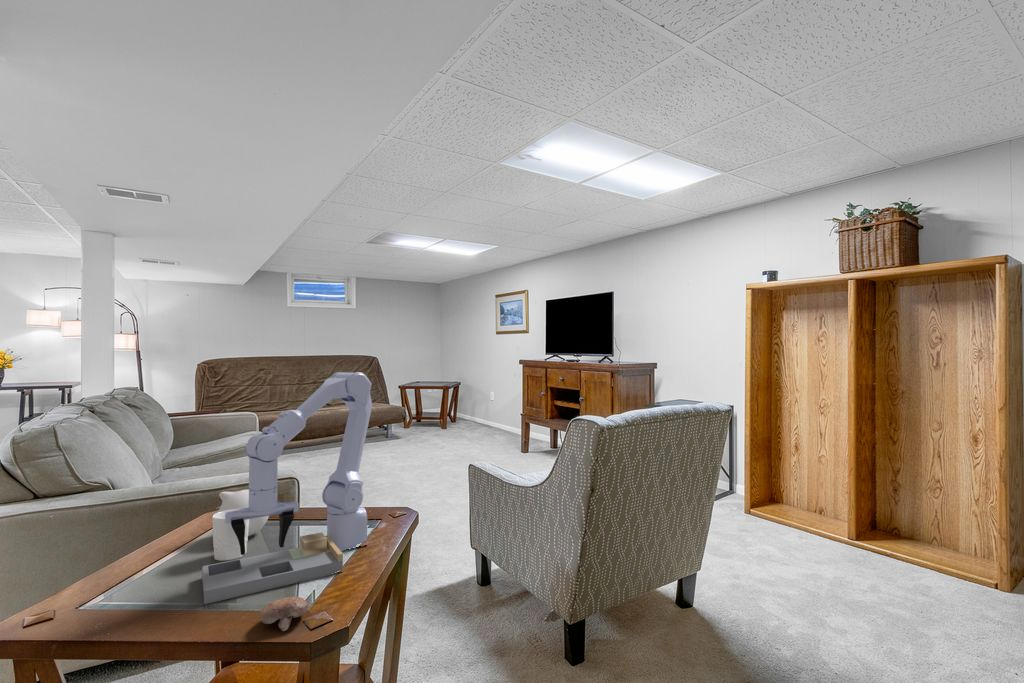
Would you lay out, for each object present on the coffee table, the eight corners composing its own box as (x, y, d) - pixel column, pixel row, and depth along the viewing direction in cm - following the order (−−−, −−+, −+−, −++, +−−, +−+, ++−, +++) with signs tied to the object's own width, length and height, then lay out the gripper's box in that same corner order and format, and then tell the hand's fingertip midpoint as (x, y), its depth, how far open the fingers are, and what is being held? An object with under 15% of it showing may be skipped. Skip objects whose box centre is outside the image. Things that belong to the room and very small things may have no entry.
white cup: (232, 563, 113) (233, 519, 113) (203, 560, 115) (204, 517, 115) (256, 550, 121) (257, 509, 121) (228, 548, 122) (229, 508, 123)
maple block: (321, 544, 118) (321, 532, 118) (326, 551, 113) (326, 538, 113) (299, 549, 115) (299, 536, 115) (303, 556, 111) (304, 542, 111)
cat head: (208, 549, 121) (210, 500, 122) (213, 533, 133) (214, 488, 134) (275, 539, 128) (276, 492, 129) (274, 525, 140) (275, 482, 140)
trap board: (327, 551, 120) (327, 535, 120) (342, 572, 108) (342, 553, 108) (202, 578, 105) (202, 559, 105) (204, 604, 94) (204, 583, 94)
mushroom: (312, 629, 85) (314, 597, 92) (294, 605, 83) (298, 574, 90) (270, 654, 83) (276, 619, 91) (250, 630, 81) (258, 596, 89)
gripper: (294, 479, 116) (294, 537, 116) (224, 489, 108) (223, 551, 108) (300, 485, 110) (300, 546, 110) (226, 496, 102) (225, 561, 102)
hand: (262, 549), depth 108 cm, fingers open, 7 cm apart
